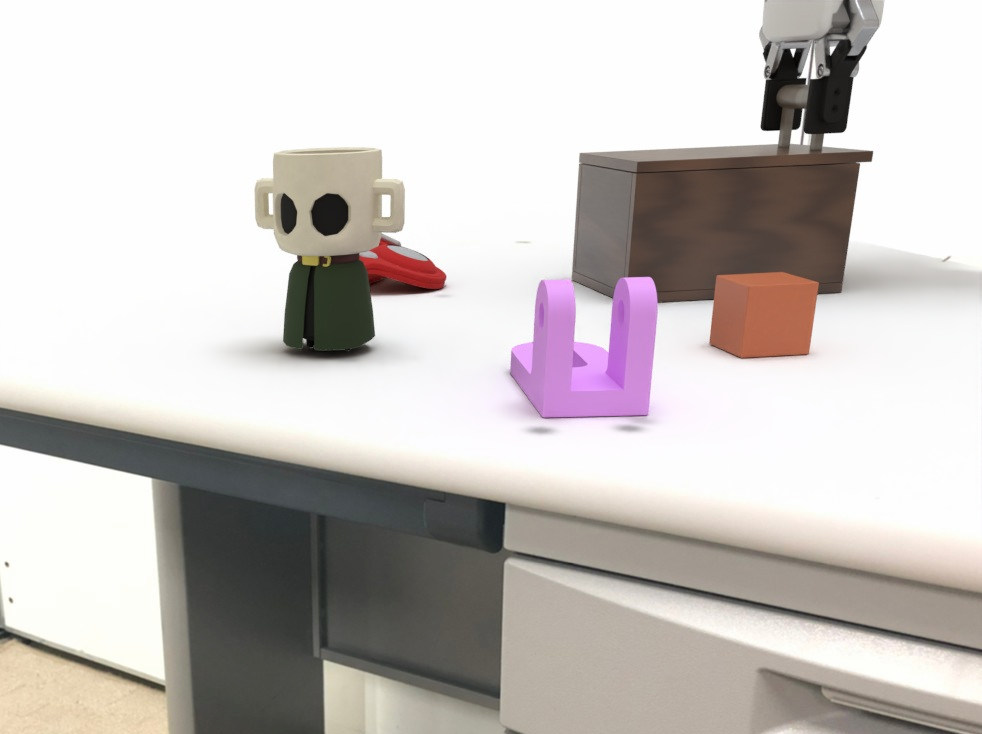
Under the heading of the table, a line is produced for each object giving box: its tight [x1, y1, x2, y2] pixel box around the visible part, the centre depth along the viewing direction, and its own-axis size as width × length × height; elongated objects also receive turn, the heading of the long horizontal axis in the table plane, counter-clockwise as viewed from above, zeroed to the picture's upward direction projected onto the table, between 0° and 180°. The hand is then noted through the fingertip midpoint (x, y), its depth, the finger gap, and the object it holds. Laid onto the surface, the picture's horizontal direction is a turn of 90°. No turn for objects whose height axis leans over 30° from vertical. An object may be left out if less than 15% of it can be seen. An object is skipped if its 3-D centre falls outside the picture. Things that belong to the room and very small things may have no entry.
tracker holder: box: [359, 233, 447, 290], centre depth 106 cm, size 12×4×10 cm
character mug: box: [253, 146, 406, 352], centre depth 80 cm, size 11×7×13 cm, turn 60°
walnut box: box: [571, 162, 861, 303], centre depth 98 cm, size 18×13×10 cm
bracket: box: [509, 277, 659, 418], centre depth 69 cm, size 13×6×7 cm, turn 178°
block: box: [708, 272, 819, 359], centre depth 76 cm, size 4×4×4 cm
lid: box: [578, 84, 874, 173], centre depth 95 cm, size 18×13×6 cm
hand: (801, 129), depth 96 cm, fingers closed on lid, 6 cm apart
